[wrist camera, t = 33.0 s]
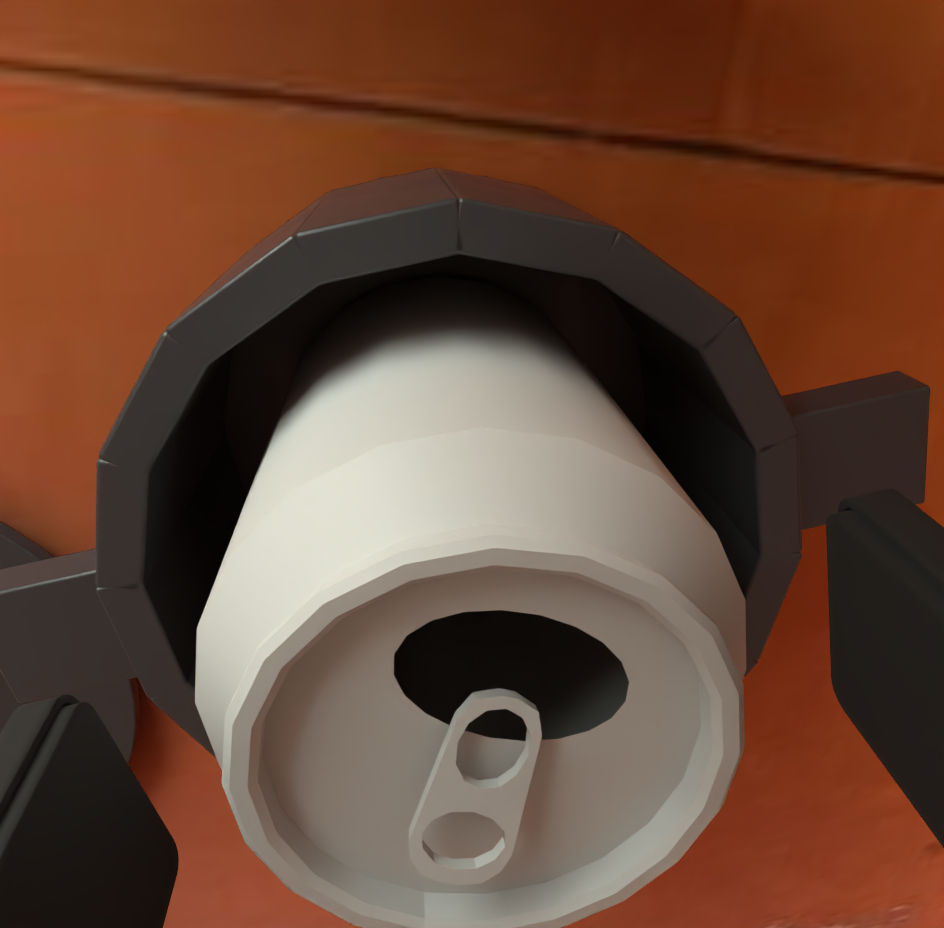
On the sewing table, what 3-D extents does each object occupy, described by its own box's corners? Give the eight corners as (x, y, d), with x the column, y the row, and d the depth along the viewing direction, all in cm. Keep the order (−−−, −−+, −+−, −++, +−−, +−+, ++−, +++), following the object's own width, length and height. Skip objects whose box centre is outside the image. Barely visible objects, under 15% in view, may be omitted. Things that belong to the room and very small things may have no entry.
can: (628, 321, 19) (929, 587, 8) (527, 573, 22) (657, 1019, 11) (330, 226, 18) (230, 404, 7) (260, 510, 21) (109, 956, 10)
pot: (7, 260, 18) (-228, 348, 11) (758, 93, 18) (977, 82, 11) (190, 674, 23) (106, 908, 16) (777, 545, 23) (936, 724, 16)
